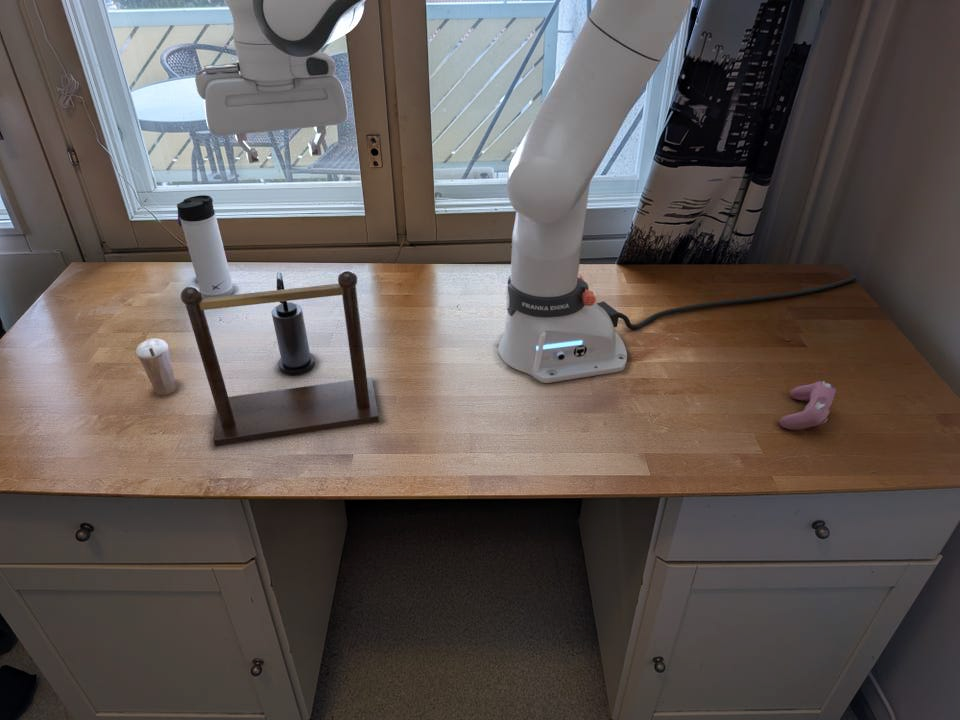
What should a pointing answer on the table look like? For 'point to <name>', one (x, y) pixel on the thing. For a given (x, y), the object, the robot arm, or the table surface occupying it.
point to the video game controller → (810, 406)
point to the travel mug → (205, 246)
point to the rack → (288, 406)
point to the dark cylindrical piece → (291, 337)
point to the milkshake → (157, 365)
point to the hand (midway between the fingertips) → (285, 158)
